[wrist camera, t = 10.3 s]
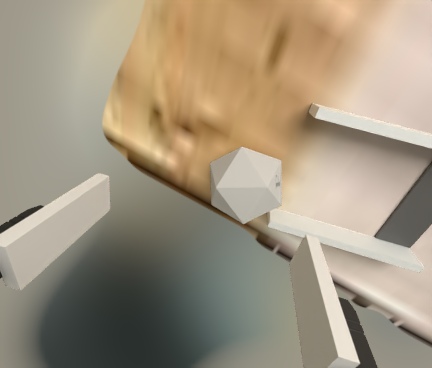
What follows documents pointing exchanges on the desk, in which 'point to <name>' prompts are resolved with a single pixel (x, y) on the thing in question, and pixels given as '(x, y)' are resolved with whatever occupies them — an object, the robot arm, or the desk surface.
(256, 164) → the die
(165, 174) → the desk surface
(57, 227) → the robot arm
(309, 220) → the grey u-shaped frame
